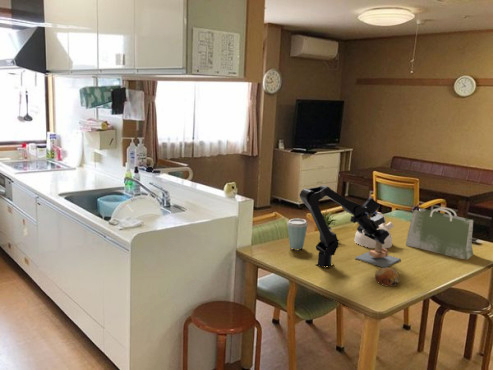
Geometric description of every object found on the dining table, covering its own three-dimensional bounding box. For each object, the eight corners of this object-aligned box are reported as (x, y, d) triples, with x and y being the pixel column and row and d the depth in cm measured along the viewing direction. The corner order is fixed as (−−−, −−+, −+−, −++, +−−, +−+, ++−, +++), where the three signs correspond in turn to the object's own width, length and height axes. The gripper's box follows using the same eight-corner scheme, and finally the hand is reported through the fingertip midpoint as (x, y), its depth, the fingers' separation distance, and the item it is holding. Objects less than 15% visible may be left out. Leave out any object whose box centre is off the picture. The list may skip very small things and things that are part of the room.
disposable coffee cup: (299, 253, 223) (301, 224, 221) (281, 248, 230) (283, 220, 227) (309, 248, 232) (311, 220, 229) (292, 243, 238) (293, 216, 235)
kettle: (397, 250, 235) (401, 217, 231) (358, 248, 235) (361, 215, 232) (386, 238, 255) (389, 208, 251) (350, 237, 255) (353, 206, 252)
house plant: (316, 242, 241) (318, 213, 238) (306, 235, 254) (308, 207, 251) (340, 241, 245) (342, 212, 242) (328, 234, 258) (331, 207, 255)
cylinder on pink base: (375, 257, 214) (377, 231, 212) (368, 254, 219) (371, 229, 217) (387, 256, 217) (390, 231, 214) (381, 253, 221) (383, 228, 219)
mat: (385, 268, 207) (385, 266, 207) (354, 258, 218) (355, 257, 218) (400, 260, 218) (400, 258, 218) (371, 252, 229) (371, 250, 229)
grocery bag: (474, 253, 233) (479, 211, 229) (467, 260, 223) (473, 215, 218) (413, 240, 253) (417, 200, 249) (404, 245, 243) (408, 204, 239)
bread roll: (394, 287, 195) (393, 268, 197) (404, 286, 185) (402, 266, 187) (372, 286, 194) (371, 268, 197) (380, 285, 185) (379, 266, 187)
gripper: (388, 214, 204) (405, 236, 209) (364, 205, 221) (380, 225, 227) (371, 232, 202) (389, 253, 208) (349, 221, 220) (366, 241, 225)
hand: (381, 242), depth 217 cm, fingers closed on cylinder on pink base, 3 cm apart
